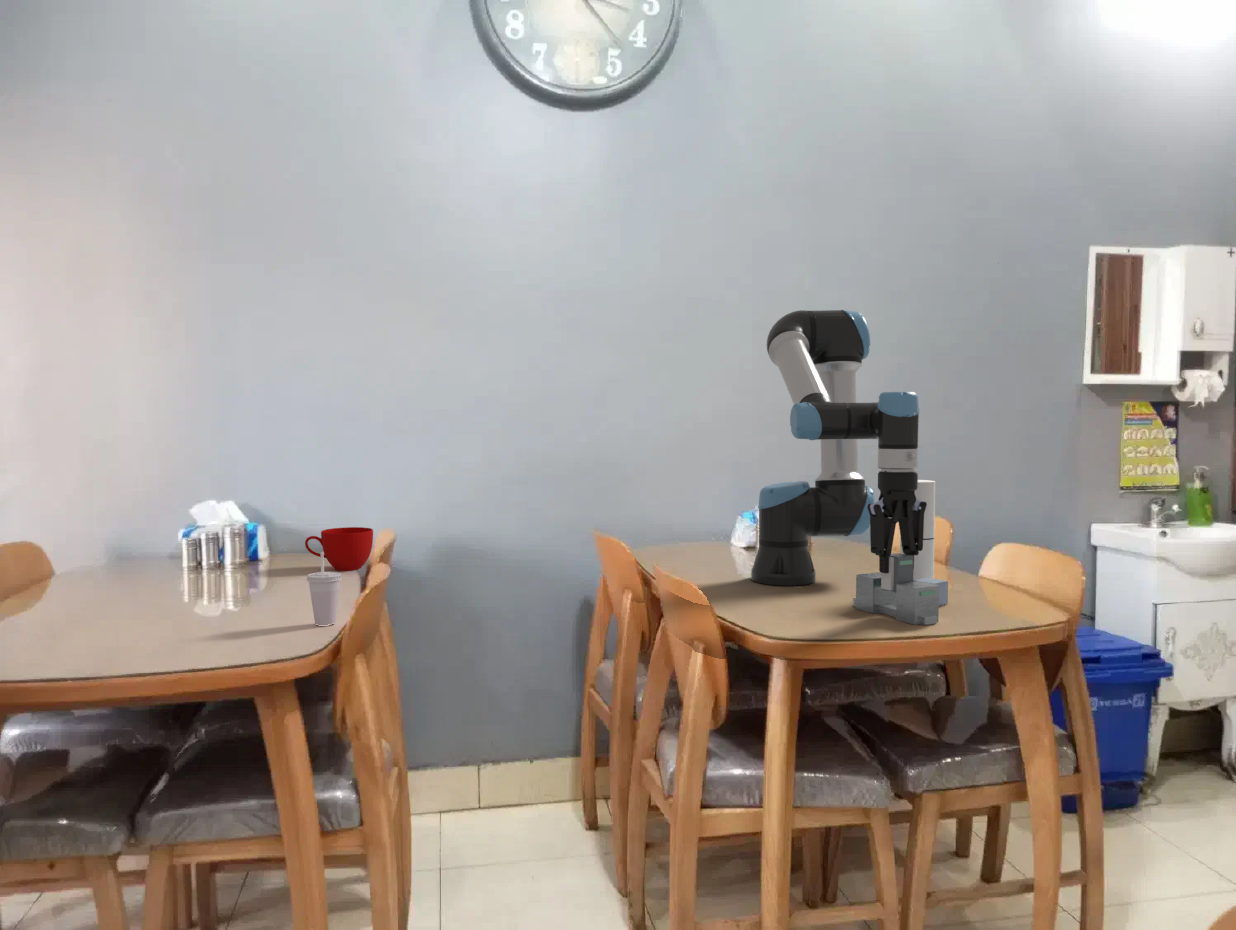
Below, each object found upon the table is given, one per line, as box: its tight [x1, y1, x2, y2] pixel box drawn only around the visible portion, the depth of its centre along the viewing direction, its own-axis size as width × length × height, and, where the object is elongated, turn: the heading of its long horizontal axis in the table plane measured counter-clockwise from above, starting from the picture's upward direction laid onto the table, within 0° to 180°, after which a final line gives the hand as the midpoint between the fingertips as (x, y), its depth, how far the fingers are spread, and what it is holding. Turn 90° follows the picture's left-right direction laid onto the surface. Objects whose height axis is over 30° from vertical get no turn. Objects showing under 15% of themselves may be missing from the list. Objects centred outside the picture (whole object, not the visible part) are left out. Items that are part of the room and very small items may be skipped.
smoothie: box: [306, 551, 343, 625], centre depth 179 cm, size 6×6×14 cm
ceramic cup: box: [304, 526, 374, 572], centre depth 241 cm, size 13×17×10 cm
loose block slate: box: [913, 578, 949, 607], centre depth 196 cm, size 5×5×5 cm
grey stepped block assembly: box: [852, 571, 940, 626], centre depth 186 cm, size 20×6×7 cm, turn 27°
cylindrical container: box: [899, 479, 936, 580], centre depth 205 cm, size 7×7×25 cm
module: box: [882, 552, 913, 592], centre depth 184 cm, size 5×4×7 cm
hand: (896, 588), depth 185 cm, fingers closed on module, 4 cm apart
